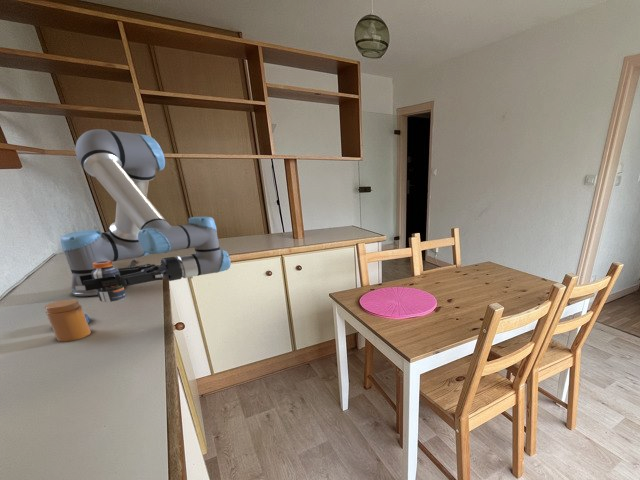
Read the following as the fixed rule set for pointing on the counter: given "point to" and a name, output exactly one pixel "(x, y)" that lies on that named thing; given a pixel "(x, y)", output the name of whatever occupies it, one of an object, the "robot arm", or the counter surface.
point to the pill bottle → (111, 292)
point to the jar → (67, 320)
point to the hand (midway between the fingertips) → (82, 283)
